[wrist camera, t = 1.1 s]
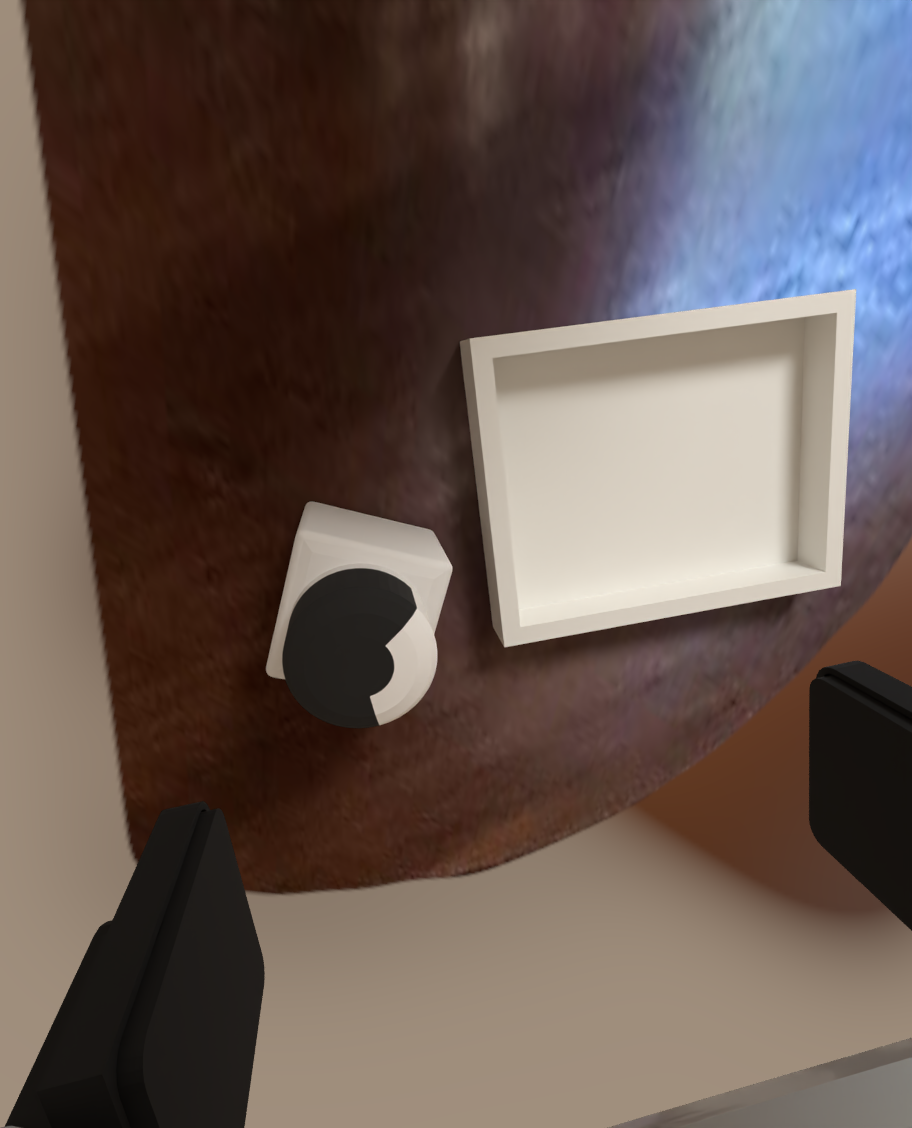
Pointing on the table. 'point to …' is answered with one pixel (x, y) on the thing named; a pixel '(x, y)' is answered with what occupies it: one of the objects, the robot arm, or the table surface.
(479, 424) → the tray
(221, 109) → the table surface
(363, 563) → the medicine bottle
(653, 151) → the table surface
